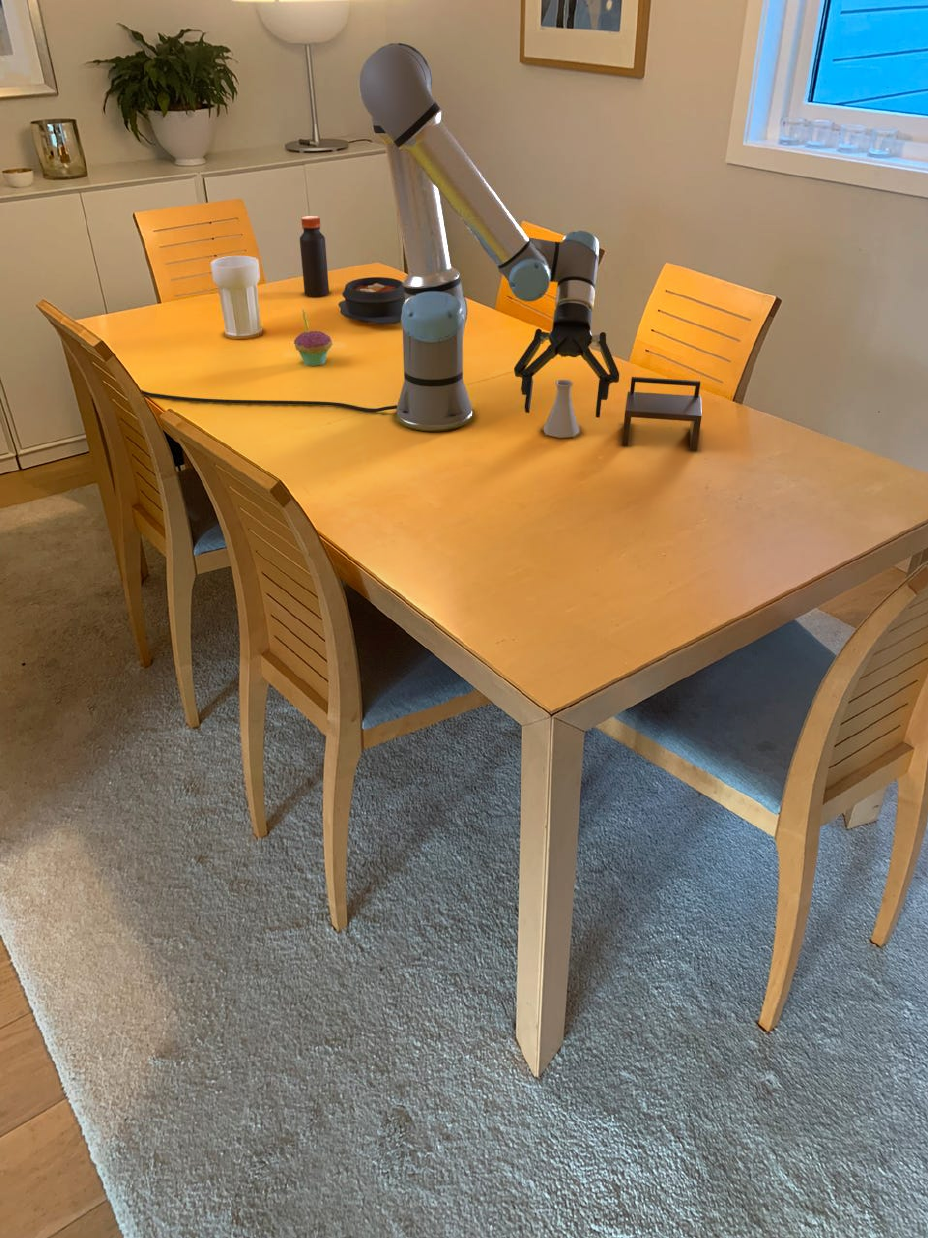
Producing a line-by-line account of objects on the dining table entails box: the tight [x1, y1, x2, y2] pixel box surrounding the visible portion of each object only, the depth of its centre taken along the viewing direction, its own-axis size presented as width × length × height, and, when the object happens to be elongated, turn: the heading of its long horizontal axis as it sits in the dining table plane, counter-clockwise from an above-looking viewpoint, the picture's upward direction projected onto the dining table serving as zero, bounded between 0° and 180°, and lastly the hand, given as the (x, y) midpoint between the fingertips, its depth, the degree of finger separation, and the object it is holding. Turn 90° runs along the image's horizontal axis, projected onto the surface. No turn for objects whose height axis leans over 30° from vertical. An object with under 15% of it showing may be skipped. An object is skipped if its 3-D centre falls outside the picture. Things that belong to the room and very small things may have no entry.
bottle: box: [299, 215, 330, 298], centre depth 263 cm, size 7×7×20 cm
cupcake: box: [293, 308, 333, 367], centre depth 219 cm, size 9×8×12 cm
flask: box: [542, 379, 580, 439], centre depth 186 cm, size 7×7×10 cm
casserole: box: [337, 276, 406, 325], centre depth 248 cm, size 25×19×8 cm
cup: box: [209, 255, 263, 340], centre depth 235 cm, size 11×11×17 cm
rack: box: [621, 376, 703, 452], centre depth 184 cm, size 14×10×10 cm
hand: (562, 412), depth 185 cm, fingers open, 13 cm apart
